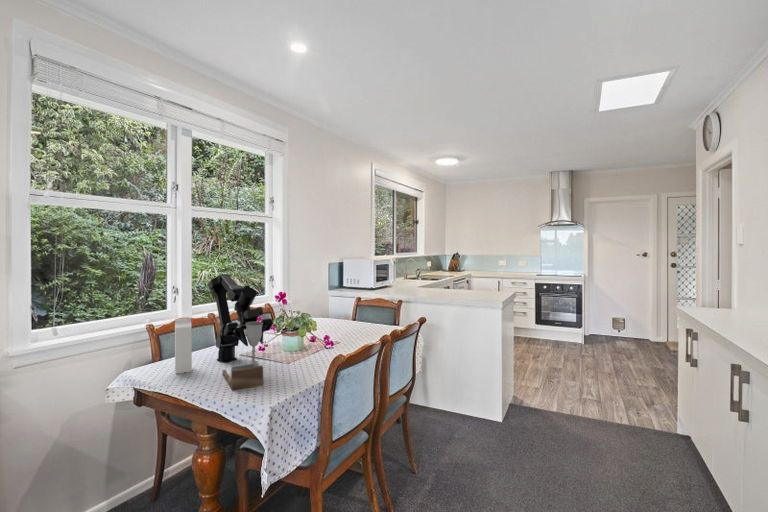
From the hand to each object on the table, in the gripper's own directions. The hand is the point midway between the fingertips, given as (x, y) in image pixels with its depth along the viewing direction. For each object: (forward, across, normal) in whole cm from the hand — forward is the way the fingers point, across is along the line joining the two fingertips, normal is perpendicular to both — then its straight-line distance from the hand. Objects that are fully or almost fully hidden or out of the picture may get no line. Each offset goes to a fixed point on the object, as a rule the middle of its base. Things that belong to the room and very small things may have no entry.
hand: (254, 344), depth 158 cm
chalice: (+6, 0, +8) cm, 10 cm away
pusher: (+10, -5, +8) cm, 14 cm away
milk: (-9, -20, +28) cm, 36 cm away
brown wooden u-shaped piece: (+8, -5, +10) cm, 14 cm away
